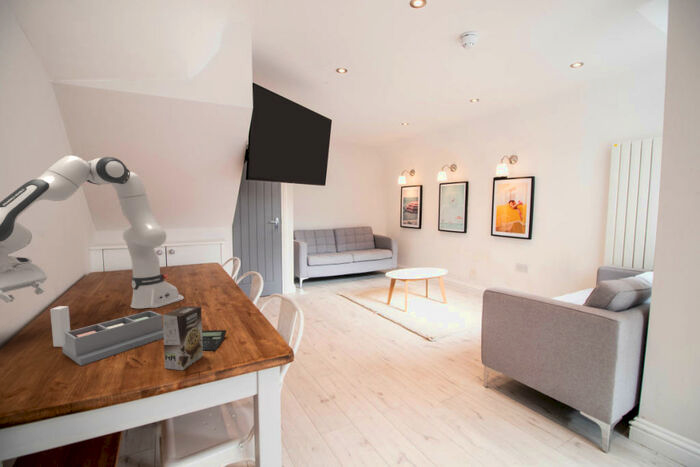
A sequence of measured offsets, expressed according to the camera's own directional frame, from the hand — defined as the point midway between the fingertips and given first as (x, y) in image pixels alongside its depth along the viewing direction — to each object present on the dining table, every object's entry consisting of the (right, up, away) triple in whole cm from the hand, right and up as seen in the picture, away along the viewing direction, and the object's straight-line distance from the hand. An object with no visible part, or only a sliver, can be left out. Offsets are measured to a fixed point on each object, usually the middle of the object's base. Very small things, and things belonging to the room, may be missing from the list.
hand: (26, 296), depth 106 cm
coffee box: (+61, -18, -12) cm, 64 cm away
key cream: (+31, -12, 0) cm, 33 cm away
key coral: (+26, -13, -6) cm, 30 cm away
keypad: (+31, -16, +1) cm, 35 cm away
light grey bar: (+12, -17, +1) cm, 20 cm away
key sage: (+35, -12, +7) cm, 38 cm away
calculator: (+62, -17, 0) cm, 64 cm away
